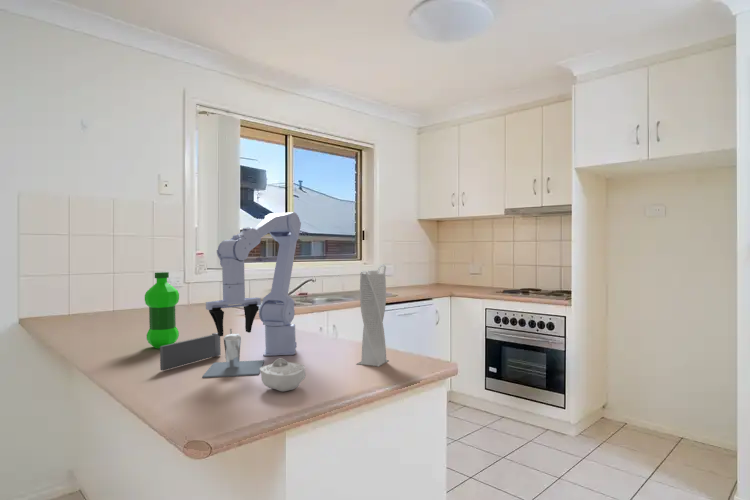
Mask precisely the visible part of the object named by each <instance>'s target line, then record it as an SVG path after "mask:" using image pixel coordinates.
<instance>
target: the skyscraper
mask: <svg viewBox="0 0 750 500" xmlns="http://www.w3.org/2000/svg"><path fill="white" fill-rule="evenodd" d="M382 267H383V272H382V273H381V272H380V270H381V268H382ZM386 270H387V266H386V265H385V264H380V265H379V267H378V269H369V270H362V271H360V279H359V283H360V284H359V304H360V305H359V306H360V312H361V313H360V314H361V318H362V322H363V331H362V341H361V342H362V343H361V360H360V361H359V362H357V363H356V365H358V366H369V367H377V368H380V367H382V366H383V365H385V364H386V363H388V362H390V360H388V359H387V348H386V347H387V345H386V337H385V328H384V318H385V311H386V304H387V303H386V302H387V285H386V284H387V282H386Z"/></svg>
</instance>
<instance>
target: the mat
mask: <svg viewBox="0 0 750 500" xmlns="http://www.w3.org/2000/svg"><path fill="white" fill-rule="evenodd" d="M264 364H265V360H264V359H260V360H259V359H258V360H257V359H256V360H241V361H240V360H239V367H238V368H234V369H229V368H227V365H226V361H219V362H213V363H212V364H211V365H210V367H208V369H207V370H206V371H205V373H203V375H202V376H201V377H202V378H203V379H211V378H226V377H227V378H228V377H246V376H250V377H251V376H259V375H260V374H261V372H260V368H261V367H262V366H264Z"/></svg>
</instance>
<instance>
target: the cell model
mask: <svg viewBox="0 0 750 500" xmlns="http://www.w3.org/2000/svg"><path fill="white" fill-rule="evenodd" d="M260 374H261V375H260V376H261V377H260V378H261V382H262V384H263V385H264V386H265V387H267V388H269V389H274V390H277V391H279V392H288V391H291V390H295V389H297V388H298V387H299V385H300V384H302V381H303V380H304V379H305V377H306V370H305V365H303V364H300V363H296V362H289V361H287V360H286V359H284V358H282V357H280V358H277V359H275V360H274V361H273V363H269V364H266V365H263V366H262V367H261V368H260Z"/></svg>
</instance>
